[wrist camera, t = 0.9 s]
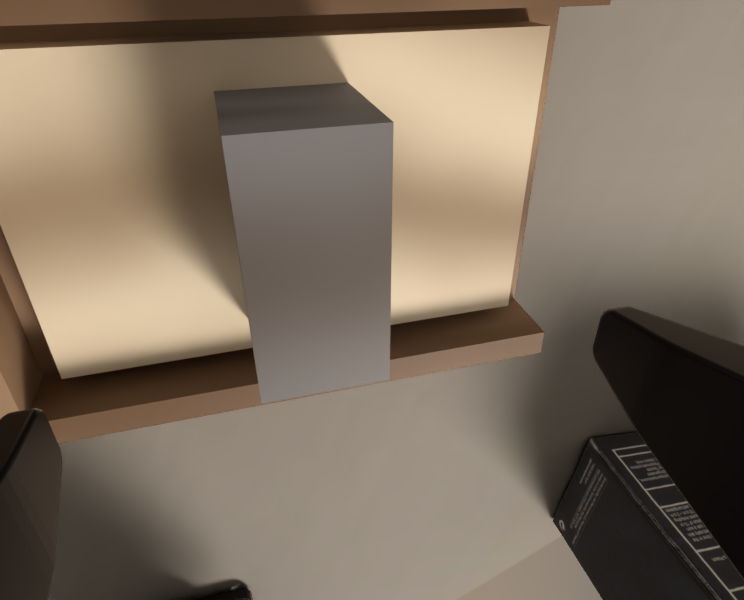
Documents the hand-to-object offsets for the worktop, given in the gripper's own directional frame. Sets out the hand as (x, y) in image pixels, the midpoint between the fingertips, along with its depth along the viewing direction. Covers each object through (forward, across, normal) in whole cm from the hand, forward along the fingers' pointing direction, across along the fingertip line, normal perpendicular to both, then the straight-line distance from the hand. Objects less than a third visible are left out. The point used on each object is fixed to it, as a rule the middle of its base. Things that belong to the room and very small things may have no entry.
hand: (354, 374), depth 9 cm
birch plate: (+7, 0, 0) cm, 7 cm away
